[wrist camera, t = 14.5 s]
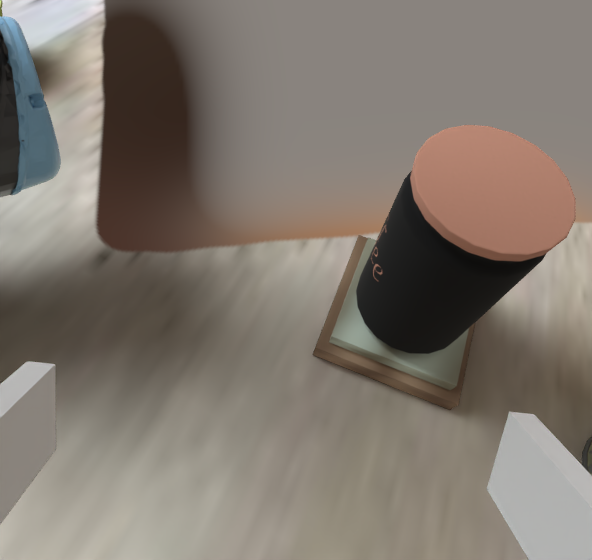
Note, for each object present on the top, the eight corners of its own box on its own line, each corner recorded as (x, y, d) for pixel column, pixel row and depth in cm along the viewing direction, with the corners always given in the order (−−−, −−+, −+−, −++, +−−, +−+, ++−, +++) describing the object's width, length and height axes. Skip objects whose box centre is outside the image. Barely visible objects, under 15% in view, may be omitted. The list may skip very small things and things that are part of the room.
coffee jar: (397, 241, 49) (472, 101, 34) (481, 308, 46) (605, 190, 31) (330, 303, 45) (379, 177, 29) (418, 382, 42) (525, 288, 26)
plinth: (312, 354, 46) (317, 341, 43) (354, 245, 53) (362, 227, 50) (449, 409, 45) (465, 400, 42) (475, 290, 52) (490, 274, 48)
